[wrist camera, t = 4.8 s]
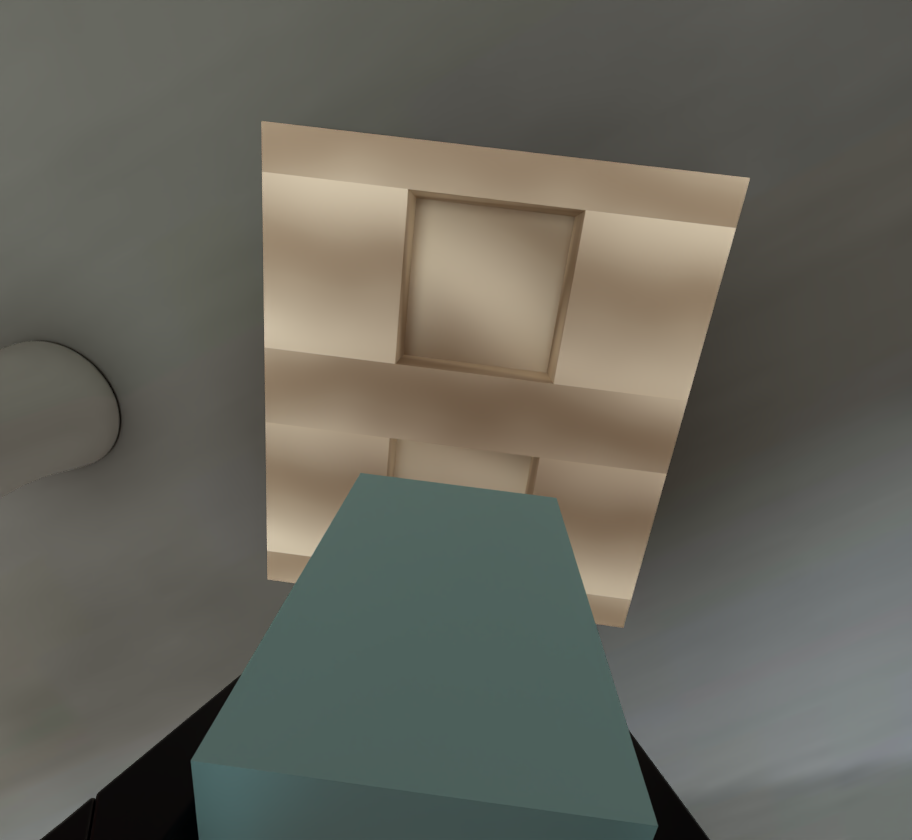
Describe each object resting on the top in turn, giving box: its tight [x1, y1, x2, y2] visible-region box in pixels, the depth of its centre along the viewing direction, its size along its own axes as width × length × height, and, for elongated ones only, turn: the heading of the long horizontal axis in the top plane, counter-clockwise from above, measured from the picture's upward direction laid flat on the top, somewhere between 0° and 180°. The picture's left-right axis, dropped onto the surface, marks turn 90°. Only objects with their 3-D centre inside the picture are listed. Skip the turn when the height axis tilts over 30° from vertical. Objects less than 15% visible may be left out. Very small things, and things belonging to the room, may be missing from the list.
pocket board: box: [261, 121, 750, 628], centre depth 19 cm, size 18×16×2 cm
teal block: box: [191, 473, 658, 840], centre depth 8 cm, size 4×4×6 cm
